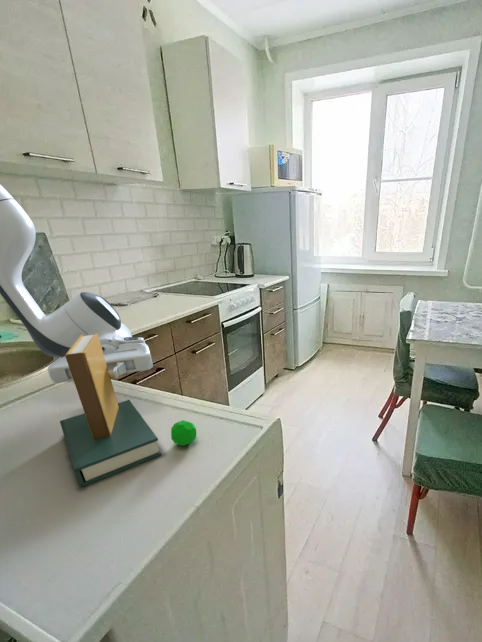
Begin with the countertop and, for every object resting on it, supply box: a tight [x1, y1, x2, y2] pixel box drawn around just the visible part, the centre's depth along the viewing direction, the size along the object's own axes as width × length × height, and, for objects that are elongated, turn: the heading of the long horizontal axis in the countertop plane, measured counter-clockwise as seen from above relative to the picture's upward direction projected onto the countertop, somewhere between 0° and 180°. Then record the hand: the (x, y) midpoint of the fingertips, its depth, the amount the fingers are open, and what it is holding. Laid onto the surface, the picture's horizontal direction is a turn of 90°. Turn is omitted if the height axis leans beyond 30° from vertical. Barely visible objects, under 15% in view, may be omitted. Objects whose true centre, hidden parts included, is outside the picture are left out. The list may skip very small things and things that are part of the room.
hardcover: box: [59, 399, 162, 488], centre depth 71 cm, size 20×14×4 cm
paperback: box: [65, 333, 119, 439], centre depth 69 cm, size 12×3×17 cm, turn 17°
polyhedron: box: [170, 419, 197, 447], centre depth 70 cm, size 5×5×5 cm
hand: (97, 377), depth 71 cm, fingers open, 4 cm apart
